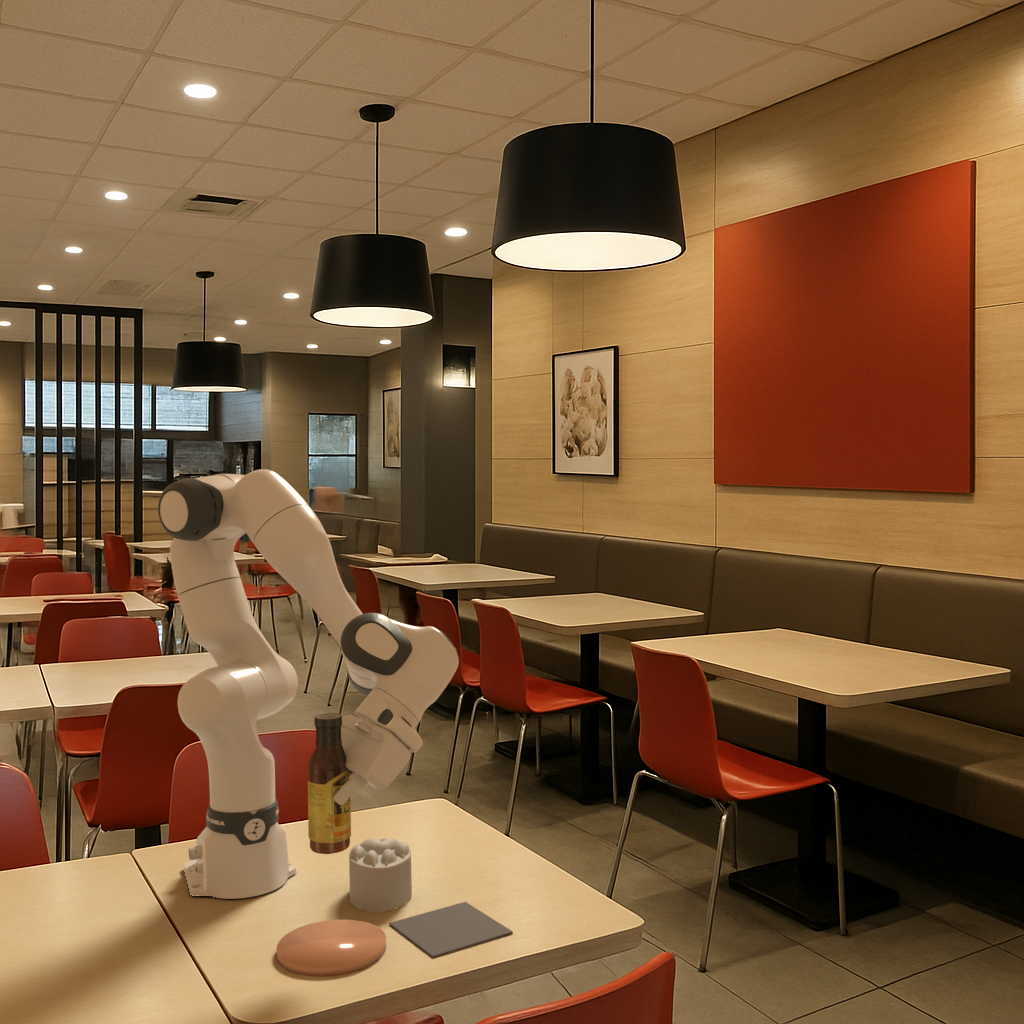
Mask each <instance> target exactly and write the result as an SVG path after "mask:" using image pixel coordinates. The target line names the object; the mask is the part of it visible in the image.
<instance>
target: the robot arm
mask: <svg viewBox="0 0 1024 1024" xmlns="http://www.w3.org/2000/svg"><path fill="white" fill-rule="evenodd" d="M309 505H310V504H308V503H307V501H306V500H305V499H304V497H302V496H301V495H300V493H299V492H298V491H297V490H296V489H295V488H294V487H293V486H292V485H291V484H290V483H289V482H288V481H286V479H284V477H282V476H281V475H279V474H278V473H277V472H275V471H273V470H270V469H267V468H266V469H265V468H264V469H263V468H262V469H256V470H253V471H251V472H248V473H241V474H237V473H217V474H213V475H207V476H201V477H195V478H193V477H192V478H191V477H190V478H189V477H187V478H186V477H185V478H182V479H179V480H175V481H174V482H172V483H170V484H168V485H167V486H165V488H164V489H163V490H162V492H161V494H160V496H159V499H158V505H157V507H158V508H157V509H158V511H157V512H158V518H159V521H160V524H161V525H162V529H163V530H164V531H165V532H166V534H168V535H169V536H170V537H171V538H172V540H171V543H170V546H169V547H170V548H169V552H170V553H169V554H170V563H171V570H172V577H173V581H174V586H175V590H176V593H177V594H176V596H177V599H178V601H179V605H180V609H181V611H182V615H183V618H184V622H185V624H186V625H185V626H186V629H187V632H188V636H189V637H190V639H191V640H192V641H193V642H195V644H197V645H199V646H201V647H202V648H203V649H205V650H206V651H207V652H208V653H209V655H210V656H211V657H212V658H213V660H214V661H215V663H216V665H217V666H213V667H210V668H207V669H204V670H202V671H201V672H199V673H198V674H196V675H193V677H191V678H190V679H188V680H187V681H185V682H184V684H183V685H182V687H180V689H179V692H178V696H177V710H178V714H179V717H180V718H181V721H182V722H183V724H184V725H185V726H186V728H188V729H189V730H191V731H192V732H193V733H194V734H196V736H197V737H198V739H199V740H200V742H201V745H202V747H203V750H204V753H205V757H206V762H207V766H208V767H207V768H208V779H209V780H208V781H209V804H208V806H207V811H206V816H205V818H206V820H205V825H206V827H205V828H204V829H203V830H202V831H201V833H200V834H199V835H198V836H197V837H196V840H195V845H193V846H190V847H188V858H189V860H188V861H186V862H185V863H183V868H184V870H183V873H184V872H185V874H184V877H185V876H186V878H185V881H186V880H187V882H186V885H187V884H188V887H187V889H188V888H189V891H188V893H189V892H190V894H191V895H199V896H213V897H212V898H215V897H216V899H217V898H218V899H227V900H229V899H233V900H234V899H246V898H252V897H257V896H260V895H261V896H262V895H265V894H268V893H270V892H274V891H275V890H277V889H279V888H281V887H283V885H285V883H286V882H287V880H288V879H289V878H290V877H292V876H293V875H295V874H297V866H296V865H295V864H292V863H289V862H290V861H289V851H288V850H289V849H288V839H287V831H286V829H285V827H284V826H282V825H281V824H279V822H278V821H279V813H280V811H279V805H278V804H279V801H278V799H277V798H276V771H275V770H276V768H275V767H276V766H275V765H276V763H275V757H274V755H273V753H272V752H271V751H270V750H269V749H268V748H266V747H264V746H263V745H262V743H261V740H260V738H259V733H258V729H257V721H259V720H261V719H265V718H268V717H270V716H273V715H276V714H277V713H278V712H280V711H281V710H282V709H284V708H285V707H287V706H288V705H289V704H290V703H291V702H292V701H293V700H294V699H295V697H296V695H297V692H298V688H299V680H298V674H297V672H296V668H294V666H293V665H292V664H291V662H289V660H287V659H285V658H284V657H282V656H281V655H280V654H278V653H277V652H276V651H275V650H274V649H273V647H272V646H271V645H270V643H269V642H268V640H267V639H266V637H265V636H264V634H263V633H262V631H261V630H260V628H259V626H258V624H257V622H256V620H255V618H254V616H253V613H252V610H251V606H250V603H249V600H248V597H247V594H246V592H245V588H244V584H243V582H242V579H241V578H242V577H241V575H240V572H239V569H238V566H237V563H236V560H235V556H234V555H235V554H234V552H235V546H236V543H237V542H238V541H240V542H242V543H248V542H249V541H251V542H252V544H253V545H254V546H255V549H257V551H258V552H259V553H260V555H261V556H262V557H263V558H264V559H265V560H266V562H267V563H268V564H269V565H270V566H271V567H272V568H273V570H275V571H276V573H278V574H279V575H280V576H281V577H282V579H284V580H285V581H286V582H287V583H288V584H289V585H290V586H291V587H292V588H293V589H294V590H295V591H296V593H298V594H299V595H300V596H301V597H302V598H303V599H304V601H306V603H307V604H308V605H309V606H310V607H311V608H312V610H313V611H314V612H315V614H316V616H317V617H318V618H319V619H320V622H321V623H322V624H323V625H324V626H325V628H326V629H327V630H328V632H329V634H330V635H331V636H332V638H333V639H334V641H335V642H336V644H337V645H338V647H339V649H340V651H341V654H342V657H343V660H344V664H345V667H346V672H347V677H348V680H349V682H350V684H351V685H352V687H353V688H354V689H355V690H357V692H359V693H360V694H363V695H365V696H366V697H365V698H364V700H363V701H362V702H361V703H360V704H359V706H358V707H357V708H356V709H355V711H354V712H353V713H350V714H348V715H342V725H341V740H342V746H343V749H344V752H345V754H346V768H347V769H348V770H350V777H349V778H348V779H349V781H348V782H346V783H345V784H344V785H343V786H342V787H341V788H337V789H336V790H335V792H334V793H333V794H332V796H331V798H332V799H333V800H334V801H335V802H336V803H338V804H339V805H344V804H345V802H346V801H347V800H348V798H349V797H351V798H352V796H353V795H355V794H357V793H358V792H359V791H361V790H362V789H363V788H364V787H365V785H366V784H367V785H369V786H370V787H373V788H375V789H376V790H379V791H382V790H384V789H385V788H387V787H388V786H389V785H390V784H392V782H393V781H395V779H396V778H397V776H398V775H399V774H400V773H401V771H402V770H403V769H404V767H405V766H406V765H407V763H408V762H409V761H410V759H411V757H412V756H411V755H412V753H417V752H419V750H420V749H421V747H422V746H423V744H424V741H423V739H422V738H421V736H420V735H419V733H418V731H417V729H416V727H417V726H418V725H419V724H420V722H421V720H422V718H423V715H424V713H425V711H426V710H427V709H428V708H429V707H430V706H431V705H432V704H434V703H435V702H436V701H437V700H438V698H440V696H441V695H442V694H443V692H444V690H445V689H446V688H447V686H448V684H449V683H450V682H451V680H452V679H453V678H454V675H455V673H456V671H457V670H458V668H459V663H460V660H459V659H460V658H459V654H458V650H457V648H456V647H455V645H454V643H453V642H452V641H451V639H450V638H449V637H448V636H447V635H446V634H445V633H444V632H443V631H442V630H440V629H438V628H436V627H434V626H431V625H427V626H417V625H416V626H415V625H411V624H407V623H403V622H400V621H397V620H394V619H391V618H389V617H388V616H386V615H383V614H382V613H377V612H365V613H363V612H362V611H361V609H360V608H359V606H358V605H357V603H356V602H355V601H354V599H353V598H352V597H351V595H350V594H349V592H348V591H347V589H346V587H345V585H344V583H343V581H342V578H341V575H340V572H339V570H338V566H337V563H336V559H335V555H334V551H333V548H332V544H331V541H330V539H329V537H328V534H327V532H326V531H325V529H324V526H323V525H322V522H321V521H320V519H319V517H318V516H317V514H316V513H315V512H314V510H313V509H312V508H311V507H310V506H309Z"/></svg>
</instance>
